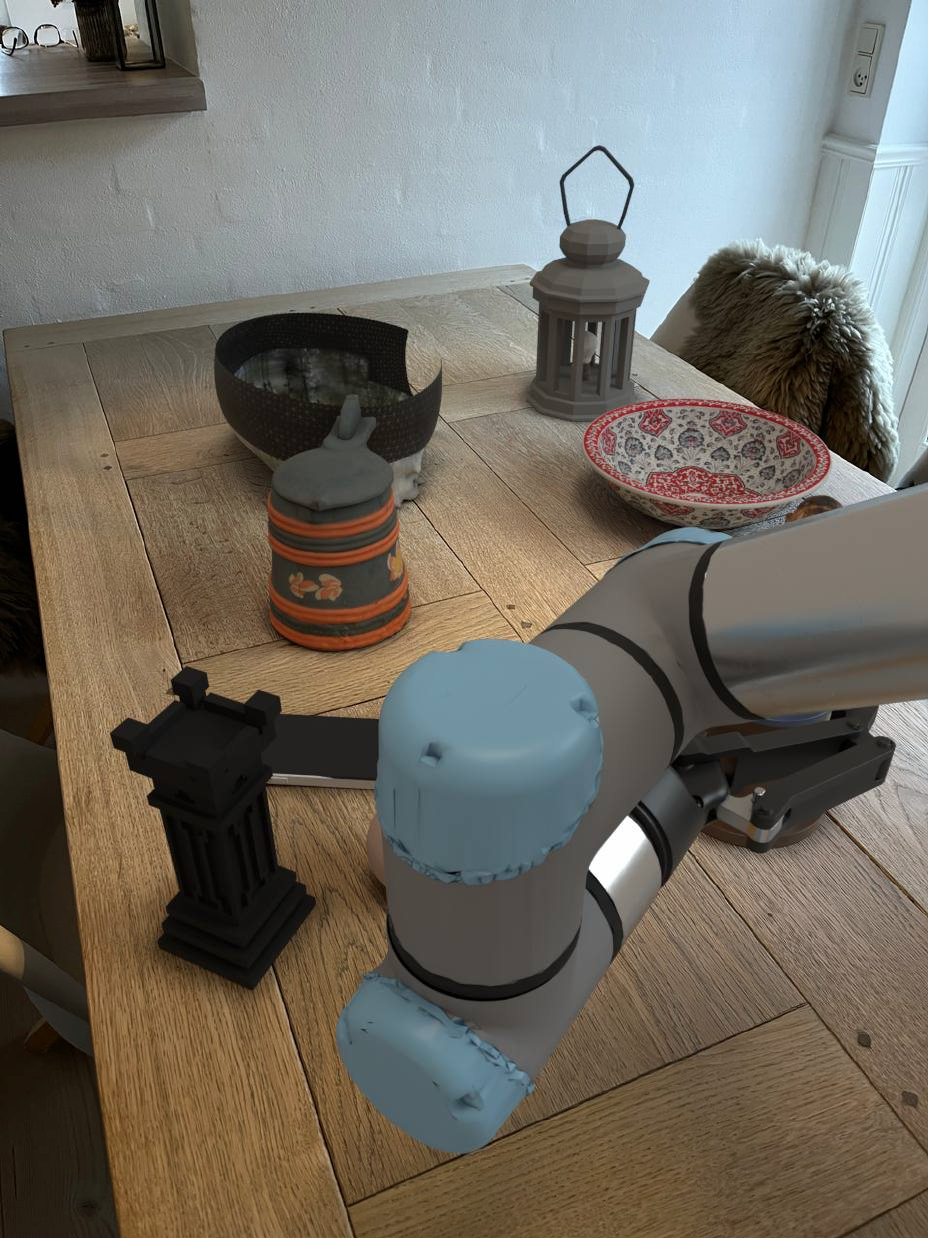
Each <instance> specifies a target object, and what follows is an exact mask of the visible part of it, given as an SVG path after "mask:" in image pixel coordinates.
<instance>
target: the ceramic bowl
mask: <svg viewBox="0 0 928 1238" xmlns="http://www.w3.org/2000/svg"><path fill="white" fill-rule="evenodd" d="M581 451H582V454H583V456H584V458H585V460H586V462H587V463H588V465H589V466H590V467H591V468H592V469H593V470H594V471H595V472H596V473H597V474H599V475H600V476H601V477H603V478H604V479H605V480H606V482H607V483H608V485H609V486H610V487H611V488H612V489H613V491H614V492H615V493H616V494H617V495H619V497H621V499H623V500H624V501H625V502H626V503H628V504H629V505H630V506H632V507H633V508H635V509H636V510H638V511H640V512H641V513H643V514H645V515H646V516H649V517H651V518H654V519H656V520H658V521H661V522H664V523H668V524H671V525H675V526H679V527H683V528H686V527H697V528H699V529H706V530H723V529H733V528H739V527H744V526H748V525H751V524H755V523H758V522H761V521H764V520H766V519H768V518H770V517H772V516H774V515H776V514H778V513H780V512H781V511H783V510H784V509H786V508H787V507H789V506H790V505H792V504H793V503H794V502H795V501H797V500H799V499H802V498H804V497H807V496H808V495H811V494H812V493H814V492H815V491H817V490H818V489H819V488H821V487H822V486H823V485H824V484H825V483H826V482H827V480H828V478H830V475H831V473H832V470H833V457H832V454H831V452H830V449H829V448H828V445H827V444H825V442H824V441H823V440H822V439H821V438H820V437H819V436H818V435H817V434H816V433H814V432H813V431H811V430H810V429H808V428H807V427H805V426H804V425H802V424H800V423H798V422H796V421H794V420H792V419H790V418H787V417H785V416H782V415H780V414H778V413H775V412H772V411H769V410H765V409H762V408H759V407H755V406H754V407H753V406H750V405H745V404H741V403H736V402H730V401H725V400H715V399H703V398H665V399H663V398H662V399H654V400H646V401H639V402H635V404H630V405H627V406H623V407H620V408H617V409H614V410H612V411H609V412H607V413H605V414H603V415H602V416H600V417H598V418H597V419H595V420H594V421H591V422H590V423H589V425H588V426H587V427H586V429H585V431H583V434H582V438H581Z"/></svg>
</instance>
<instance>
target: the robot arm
mask: <svg viewBox="0 0 928 1238" xmlns="http://www.w3.org/2000/svg"><path fill="white" fill-rule="evenodd" d="M924 700H928V482H924V483H921V484H918V485H915V486H910V487H907V488H904V489H900V490H897V491H893V492H889V493H886V494H883V495H880V496H876V497H872V498H868V499H865V500H862V501H858V502H854V503H851V504H848V505H844V506H843V507H840V508H837V509H833V510H830V511H826V512H823V513H820V514H816V515H813V516H809V517H806V518H802V519H799V520H795V521H792V522H788V523H785V522H784V523H782V524H778V525H775V526H771V527H767V528H764V529H760V530H757V531H754V532H750V533H746V534H743V535H740V536H737V537H733V536H732V535H729V534H728V533H724V532H718V531H714V530H711V529H700V528H697V527H681V528H674V529H672V530H668V531H666V532H663V533H661V534H660V535H658V536H656V537H654V538H653V539H651V540H650V541H649V542H648V543H647V542H646V543H645V544H644V545H643V546H641V547H639V548H637V549H635V550H632V551H630V552H629V553H627V554H625V555H624V556H621V558H619V559H618V561H617V562H616V563H615V564H614V565H613V566H612V567H611V568H609V569H608V570H607V571H606V572H605V574H604V575H603V576H602V578H600V580H598V581H597V582H596V583H595V584H593V586H591V587H590V588H589V589H588V590H587V591H586V592H584V594H582V595H581V596H580V597H579V598H578V599H577V600H576V601H575V602H574V603H572V604H571V605H570V606H569V607H568V608H567V609H566V610H565V611H563V612H562V613H561V614H560V615H559V616H558V617H557V618H556V619H554V620H553V621H552V622H551V623H550V624H549V625H548V626H547V627H545V628H544V629H543V630H542V631H541V632H540V633H538V634H537V635H536V636H534V637H533V638H532V639H531V640H530V641H529V642H522V641H519V640H518V641H517V640H511V639H510V640H509V639H501V638H477V639H473V640H471V639H470V640H465V641H463V642H461V644H460V645H459V646H458V648H457V649H456V650H452V651H440V650H433V651H430V652H427V653H426V654H424V655H423V656H421V657H419V658H418V659H416V660H415V661H413V662H412V663H410V664H409V665H408V666H407V667H406V668H405V669H404V670H403V671H402V672H401V673H400V674H399V675H398V676H397V677H396V679H395V680H394V682H393V683H392V684H391V685H390V687H389V689H388V691H387V692H386V694H385V697H384V699H383V701H382V704H381V708H380V711H379V716H378V719H379V759H378V763H377V779H376V782H375V786H374V787H375V789H373V797H374V802H375V810H376V812H377V818H378V820H379V823H380V825H381V835H382V847H383V859H384V871H385V882H386V886H385V890H386V891H385V893H386V903H387V907H386V908H387V909H386V915H385V930H386V944H387V951H386V954H385V956H384V958H383V960H382V961H381V962H380V963H379V964H378V965H377V966H376V967H375V968H374V969H372V971H370V970H368V971H367V972H366V973H365V974H364V975H363V976H362V979H361V983H360V985H359V986H358V988H357V989H356V991H355V992H354V994H353V995H352V996H351V998H350V999H349V1001H348V1002H347V1004H346V1005H345V1007H344V1008H343V1009H342V1010H341V1012H340V1014H339V1017H338V1020H337V1021H336V1026H335V1027H336V1028H335V1041H336V1047H337V1051H338V1055H339V1056H340V1059H341V1062H342V1064H343V1066H344V1067H345V1069H346V1071H347V1074H348V1076H350V1078H351V1080H352V1081H353V1083H354V1084H355V1085H356V1087H357V1088H358V1089H359V1091H360V1092H361V1093H362V1094H363V1096H364V1097H365V1099H366V1100H367V1101H368V1102H369V1103H370V1104H371V1105H372V1106H373V1107H374V1108H375V1109H376V1110H377V1111H378V1112H379V1113H380V1114H381V1115H382V1117H384V1118H385V1119H387V1120H388V1121H389V1122H390V1123H392V1124H393V1125H394V1126H395V1127H396V1128H398V1129H400V1130H401V1131H402V1132H404V1133H405V1134H407V1135H408V1136H409V1137H411V1138H412V1139H414V1140H415V1141H417V1142H419V1143H420V1144H423V1145H424V1146H427V1147H429V1148H432V1149H434V1150H436V1151H440V1152H444V1153H448V1154H469V1153H472V1152H475V1151H478V1150H479V1149H481V1148H483V1147H485V1146H486V1145H487V1144H489V1142H490V1141H491V1140H493V1138H494V1136H495V1135H496V1134H497V1133H498V1131H500V1129H501V1128H502V1126H503V1125H504V1123H505V1122H507V1120H508V1119H509V1117H510V1116H511V1115H512V1114H513V1112H514V1111H515V1110H516V1108H518V1106H519V1105H520V1104H521V1102H522V1101H523V1100H524V1098H525V1097H528V1096H530V1095H531V1094H532V1093H533V1092H534V1090H535V1089H536V1085H535V1081H536V1079H538V1077H539V1075H540V1074H541V1072H542V1071H543V1069H544V1067H545V1066H546V1064H548V1063H547V1062H548V1061H549V1059H550V1058H551V1056H552V1055H553V1054H554V1053H555V1051H556V1049H557V1048H558V1046H559V1044H560V1043H561V1042H562V1040H563V1038H564V1037H565V1035H566V1034H567V1033H568V1031H569V1029H570V1028H571V1027H572V1024H574V1022H575V1020H576V1019H577V1017H578V1016H579V1014H580V1013H581V1011H582V1009H583V1008H584V1007H585V1005H586V1004H587V1002H588V1000H589V999H590V997H591V996H592V994H593V993H594V991H596V988H597V987H598V985H599V984H600V982H601V980H603V978H604V976H605V975H606V973H607V972H608V970H609V967H610V966H611V965H612V963H613V962H614V960H616V958H617V956H618V954H619V952H620V951H621V950H622V948H623V947H624V945H625V944H626V942H627V941H628V940H629V938H630V937H631V935H632V934H633V932H634V931H635V929H636V928H637V927H638V925H639V924H640V922H641V921H642V919H643V917H644V916H645V915H646V914H647V912H648V910H649V909H650V907H651V906H652V905H653V903H654V901H656V899H657V897H658V894H659V892H660V890H661V889H662V888H663V887H665V886H666V884H667V883H668V881H669V880H670V878H671V877H672V876H673V874H674V872H675V871H676V869H677V868H678V867H679V865H680V864H681V862H682V861H683V859H684V858H685V855H686V854H687V853H688V851H689V850H690V849H691V847H692V845H694V842H695V841H696V840H697V838H698V836H699V835H700V833H701V832H702V831H701V830H702V829H703V828H704V827H706V826H707V825H709V824H712V823H714V822H717V821H718V820H721V821H723V822H725V823H727V824H729V825H731V826H732V827H734V828H736V829H738V830H740V831H742V832H744V833H745V834H747V835H746V839H745V845H746V847H745V848H747V849H748V850H749V851H750V852H752V853H754V854H761V855H762V854H766V853H767V852H768V851H770V850H771V849H772V848H771V847H772V846H773V844H774V843H775V842H776V841H777V840H778V838H779V837H780V836H781V835H782V834H783V832H784V831H786V830H788V829H790V828H792V827H794V826H796V825H798V824H801V823H803V822H805V821H807V820H809V819H811V818H813V817H815V816H817V815H819V814H821V813H823V812H825V811H826V812H828V811H830V810H832V809H833V808H836V807H838V806H840V805H842V804H845V803H846V802H848V801H850V800H852V799H854V798H856V797H859V796H861V795H862V794H865V793H867V792H869V791H871V790H873V789H875V788H878V787H880V786H881V785H883V784H884V783H885V782H886V779H887V776H888V774H889V770H890V768H891V764H892V761H893V758H894V753H895V751H896V748H897V744H896V742H895V741H894V740H893V739H892V738H890V737H887V736H885V735H876V736H873V735H872V734H871V733H870V731H871V730H872V727H873V725H874V723H875V722H876V718H877V715H878V712H879V709H880V706H883V705H891V704H892V705H893V704H900V703H908V702H919V701H924ZM827 711H832V712H831V716H830V720H828V721H823V722H818V723H813V724H807V725H802V726H797V727H792V728H787V729H782V730H776V731H771V732H766V733H761V734H756V735H751V736H746V737H743V736H741V734H740V733H739V732H730V733H725V734H720V735H715V736H710V737H706V734H707V732H705V731H703V730H705V729H708V728H711V727H716V726H724V725H732V724H741V723H747V722H752V721H757V720H764V719H772V718H778V717H786V716H794V715H802V714H811V713H819V712H827ZM722 758H724V761H723V766H722V765H721V762H720V759H722ZM778 779H781V780H779V781H777V782H776V783H774V784H773V785H771V786H770V787H769V788H768V789H767V790H765V789H763V788H761V787H757V788H755V789H754V792H753V793H752V794H749V795H747V796H745V797H734V796H732V795H736V794H739V793H740V792H741V791H742V790H743V789H744V788H745V787H747V786H749V785H754V784H759V783H764V782H768V781H773V780H778ZM826 812H825V813H826Z"/></svg>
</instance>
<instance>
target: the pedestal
mask: <svg viewBox="0 0 928 1238" xmlns="http://www.w3.org/2000/svg"><path fill="white" fill-rule="evenodd" d="M831 712H832V711H827V712H819V713H811V714H802V715H794V716H786V717H778V718H772V719H764V720H757V721H752V722H747V723H741V724H732V725H724V726H716V727H711V728H708V729H705V730H703V731H705V732H707V734H706V737H710V736H715V735H720V734H725V733H730V732H739V733H740V734H741V736H743V737H746V736H751V735H756V734H761V733H766V732H771V731H776V730H782V729H787V728H792V727H797V726H802V725H807V724H813V723H818V722H823V721H828V720H830V716H831ZM723 761H724V758H722V759H720V762H721V765H722V766H723ZM779 780H781V779H778V780H773V781H768V782H764V783H759V784H754V785H749V786H747V787H745V788H744V789H743V790H742V791H741V792H740V793H739V794H736V795H732V796H734V797H745V796H747V795H749V794H752V793H753V792H754V789H755V788H757V787H761V788H763V789H765V790H767V789H768V788H769V787H770V786H771V785H773V784H774V783H776V782H777V781H779ZM826 812H827V811H825V812H823V813H821V814H819V815H817V816H815V817H813V818H811V819H809V820H807V821H805V822H803V823H801V824H798V825H796V826H794V827H792V828H790V829H788V830H786V831H784V832H783V834H782V835H781V836H780V837H779V838H778V840H777V841H776V842H775V843H774V844H773V846H772V847H771V848H770V849H774V848H775V849H776V848H783V847H787V846H790V845H794V844H797V843H799V842H800V841H803V840H805V839H806V838H808V837H810V836H811V835H812V834H813V833H815V831H816V830H818V828H819V827H820V825H821V824H822V823H823V820H824V818H825V815H826ZM700 832H702V833H704V834H706V835H708V836H710V837H711V838H714V839H715V840H716V839H717V840H719V841H721V842H724V843H727V844H731V845H734V846H739V847H744V848H747V847H746V845H745V839H746V835H747V834H745V833H744V832H742V831H740V830H738V829H736V828H734V827H732V826H731V825H729V824H727V823H725V822H723V821H721V820H718V821H717V822H714V823H712V824H709V825H707V826H706V827H704V828H703V829H702V830H701V831H700Z"/></svg>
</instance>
